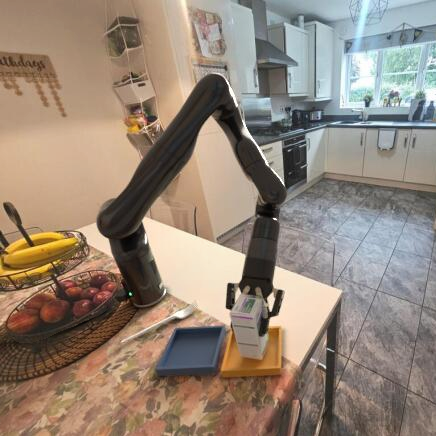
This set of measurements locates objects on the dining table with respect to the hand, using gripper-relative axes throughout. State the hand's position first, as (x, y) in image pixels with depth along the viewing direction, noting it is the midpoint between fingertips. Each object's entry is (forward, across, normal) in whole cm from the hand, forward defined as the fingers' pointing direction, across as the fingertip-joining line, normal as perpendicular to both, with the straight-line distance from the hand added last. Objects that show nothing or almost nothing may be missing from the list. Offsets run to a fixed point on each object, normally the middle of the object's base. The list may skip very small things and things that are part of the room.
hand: (248, 333), depth 54 cm
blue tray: (+7, +15, -5) cm, 17 cm away
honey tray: (+5, 0, -7) cm, 9 cm away
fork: (+3, +29, -9) cm, 30 cm away
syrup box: (+4, 0, -6) cm, 8 cm away
